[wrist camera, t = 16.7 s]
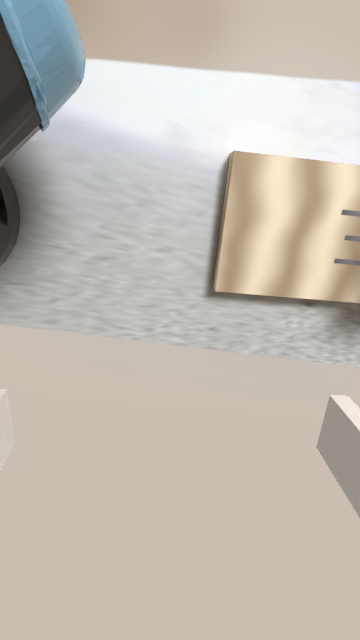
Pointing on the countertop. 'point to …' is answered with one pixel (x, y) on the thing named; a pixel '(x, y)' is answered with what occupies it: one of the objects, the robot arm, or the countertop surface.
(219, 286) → the board
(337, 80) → the countertop surface
